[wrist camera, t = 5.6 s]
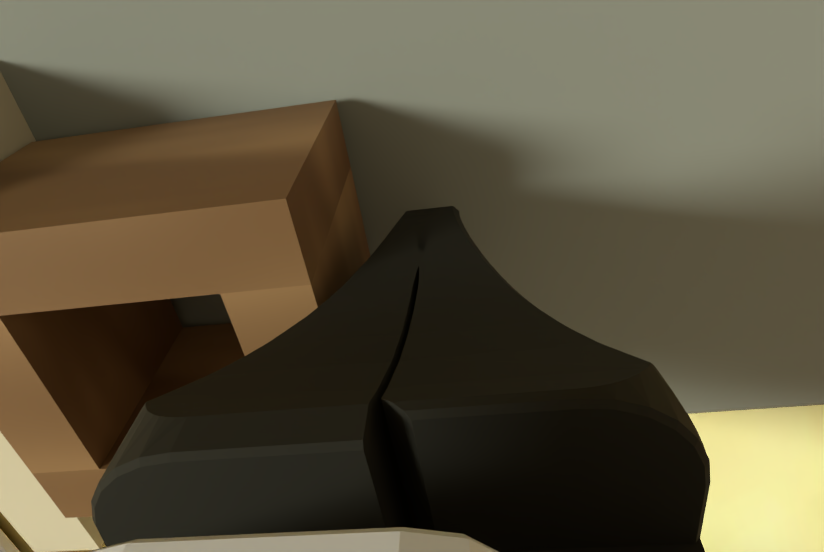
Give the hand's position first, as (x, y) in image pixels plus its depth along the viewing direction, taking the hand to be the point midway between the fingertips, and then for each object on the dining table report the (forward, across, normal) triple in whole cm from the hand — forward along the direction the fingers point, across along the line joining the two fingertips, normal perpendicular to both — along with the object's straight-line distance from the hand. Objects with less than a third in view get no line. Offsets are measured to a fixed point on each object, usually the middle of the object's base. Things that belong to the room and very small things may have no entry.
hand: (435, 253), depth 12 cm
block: (+1, +4, 0) cm, 5 cm away
